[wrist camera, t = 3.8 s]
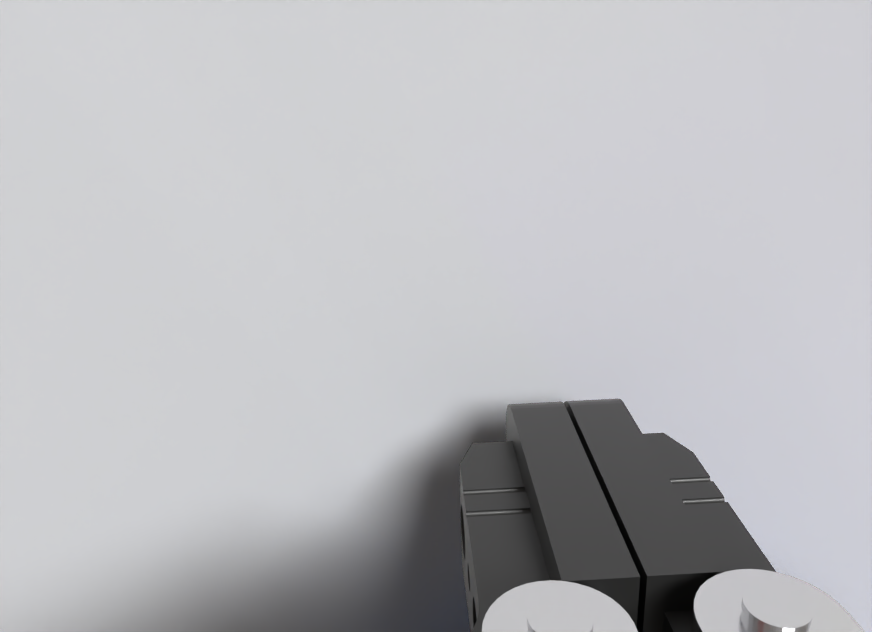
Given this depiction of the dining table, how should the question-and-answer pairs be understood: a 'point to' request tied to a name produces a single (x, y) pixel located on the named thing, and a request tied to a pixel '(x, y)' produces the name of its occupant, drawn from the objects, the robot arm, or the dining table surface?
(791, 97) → the dining table surface
